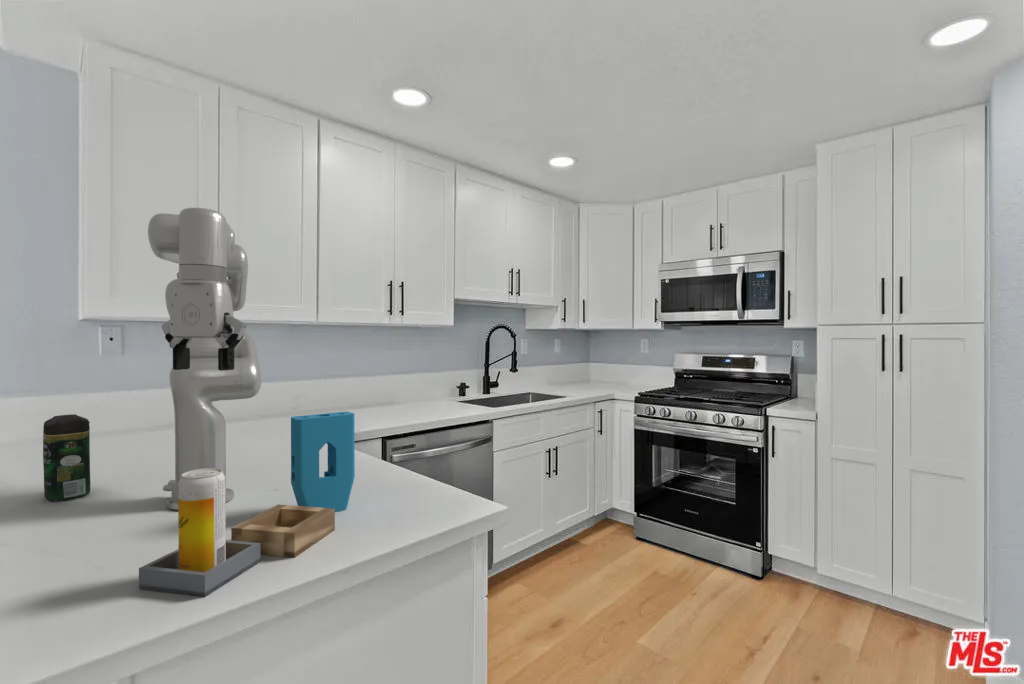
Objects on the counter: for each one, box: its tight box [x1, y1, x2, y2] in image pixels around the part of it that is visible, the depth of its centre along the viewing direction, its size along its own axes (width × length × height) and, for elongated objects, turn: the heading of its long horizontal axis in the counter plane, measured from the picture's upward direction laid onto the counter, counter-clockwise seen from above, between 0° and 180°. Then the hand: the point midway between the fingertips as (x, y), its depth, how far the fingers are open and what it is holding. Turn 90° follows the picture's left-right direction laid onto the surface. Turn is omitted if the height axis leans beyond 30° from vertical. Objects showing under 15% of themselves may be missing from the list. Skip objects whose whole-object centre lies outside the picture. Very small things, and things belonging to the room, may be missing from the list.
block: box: [290, 411, 356, 513], centre depth 103 cm, size 12×5×20 cm, turn 130°
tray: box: [138, 539, 262, 598], centre depth 75 cm, size 11×11×3 cm
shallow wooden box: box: [230, 504, 336, 558], centre depth 88 cm, size 12×12×4 cm
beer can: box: [177, 468, 227, 572], centre depth 75 cm, size 6×6×15 cm
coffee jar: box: [42, 413, 91, 502], centre depth 113 cm, size 10×8×19 cm
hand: (203, 369), depth 91 cm, fingers open, 9 cm apart
